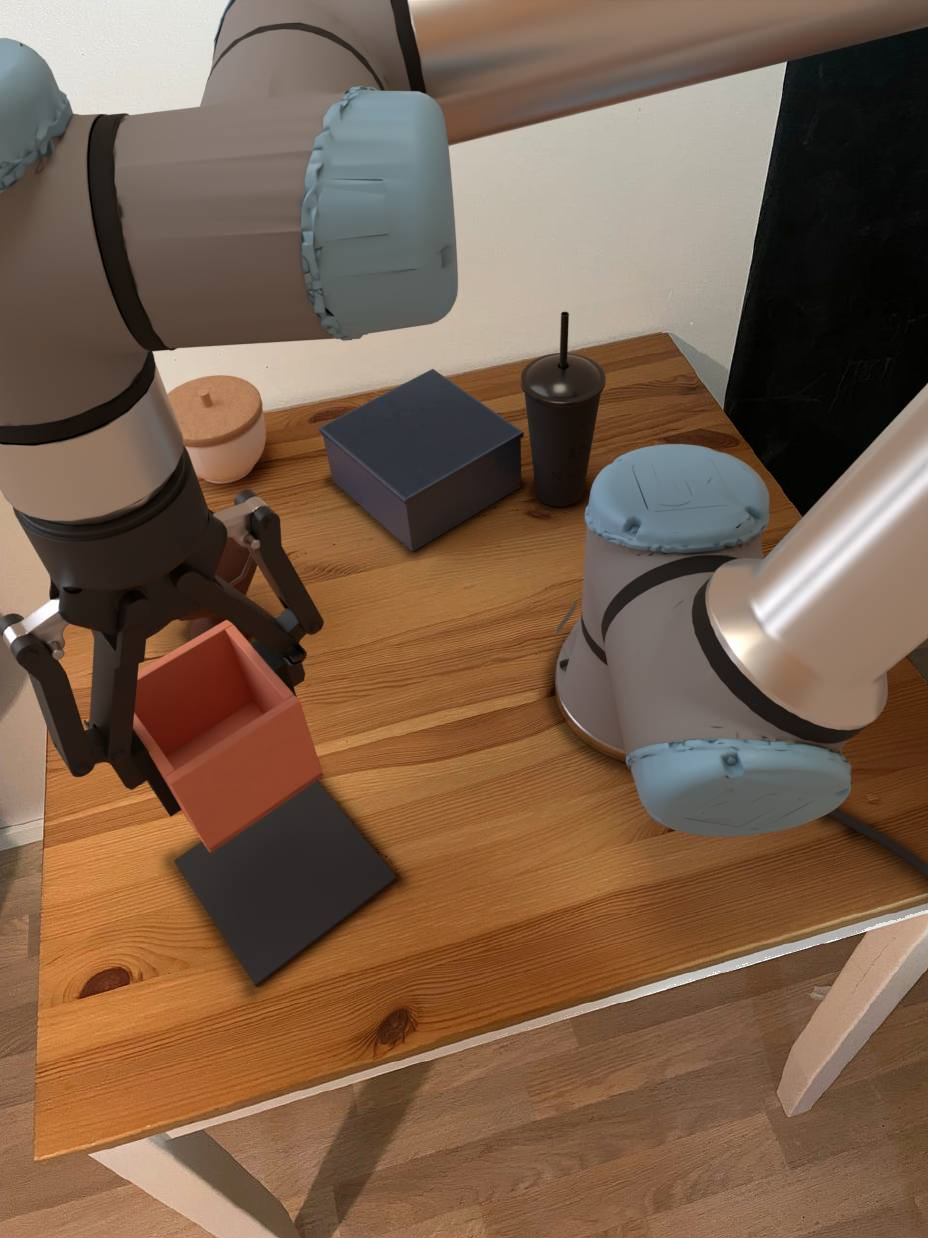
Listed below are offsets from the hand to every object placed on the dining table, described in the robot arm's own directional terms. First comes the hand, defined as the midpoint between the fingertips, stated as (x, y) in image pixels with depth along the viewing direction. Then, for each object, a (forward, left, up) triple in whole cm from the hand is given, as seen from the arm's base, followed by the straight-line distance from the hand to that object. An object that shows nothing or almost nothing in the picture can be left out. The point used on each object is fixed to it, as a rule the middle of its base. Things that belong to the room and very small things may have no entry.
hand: (229, 756), depth 56 cm
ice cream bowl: (+24, -8, -16) cm, 30 cm away
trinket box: (+44, -20, -16) cm, 51 cm away
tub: (0, 0, -2) cm, 2 cm away
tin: (+27, -34, -16) cm, 46 cm away
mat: (0, 0, -16) cm, 16 cm away
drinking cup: (+17, -43, -16) cm, 49 cm away
